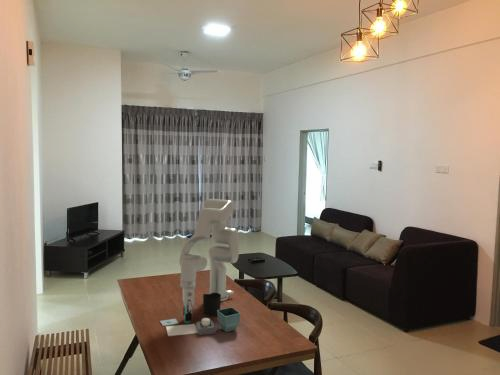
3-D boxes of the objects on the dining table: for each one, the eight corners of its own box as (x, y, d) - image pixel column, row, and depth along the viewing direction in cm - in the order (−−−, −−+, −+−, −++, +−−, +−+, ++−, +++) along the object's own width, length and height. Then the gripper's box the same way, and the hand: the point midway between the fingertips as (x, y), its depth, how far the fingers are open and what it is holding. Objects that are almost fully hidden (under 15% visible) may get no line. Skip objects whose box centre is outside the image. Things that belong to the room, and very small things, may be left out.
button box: (212, 326, 202) (212, 320, 202) (215, 333, 194) (215, 327, 194) (195, 327, 200) (196, 321, 199) (198, 335, 192) (198, 328, 192)
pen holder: (217, 317, 213) (218, 299, 212) (200, 315, 214) (200, 297, 214) (222, 311, 222) (222, 293, 221) (205, 309, 224) (206, 291, 223)
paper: (194, 324, 203) (194, 323, 203) (198, 333, 194) (198, 332, 194) (166, 327, 199) (166, 326, 199) (168, 336, 190) (168, 335, 190)
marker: (190, 320, 209) (190, 300, 208) (191, 322, 205) (191, 303, 204) (183, 320, 208) (184, 301, 207) (184, 323, 204) (184, 303, 203)
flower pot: (224, 334, 193) (225, 316, 192) (216, 327, 201) (216, 310, 200) (240, 331, 198) (241, 313, 197) (231, 324, 205) (232, 306, 205)
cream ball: (208, 324, 199) (209, 317, 199) (210, 327, 196) (210, 320, 195) (200, 325, 198) (201, 318, 198) (202, 328, 194) (202, 321, 194)
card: (175, 319, 209) (175, 318, 209) (178, 323, 204) (178, 322, 204) (159, 321, 206) (159, 320, 206) (162, 326, 200) (162, 325, 200)
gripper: (198, 288, 198) (197, 324, 199) (193, 277, 214) (192, 310, 216) (183, 289, 195) (182, 325, 197) (178, 278, 212) (177, 312, 213)
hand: (187, 317), depth 206 cm, fingers open, 6 cm apart
